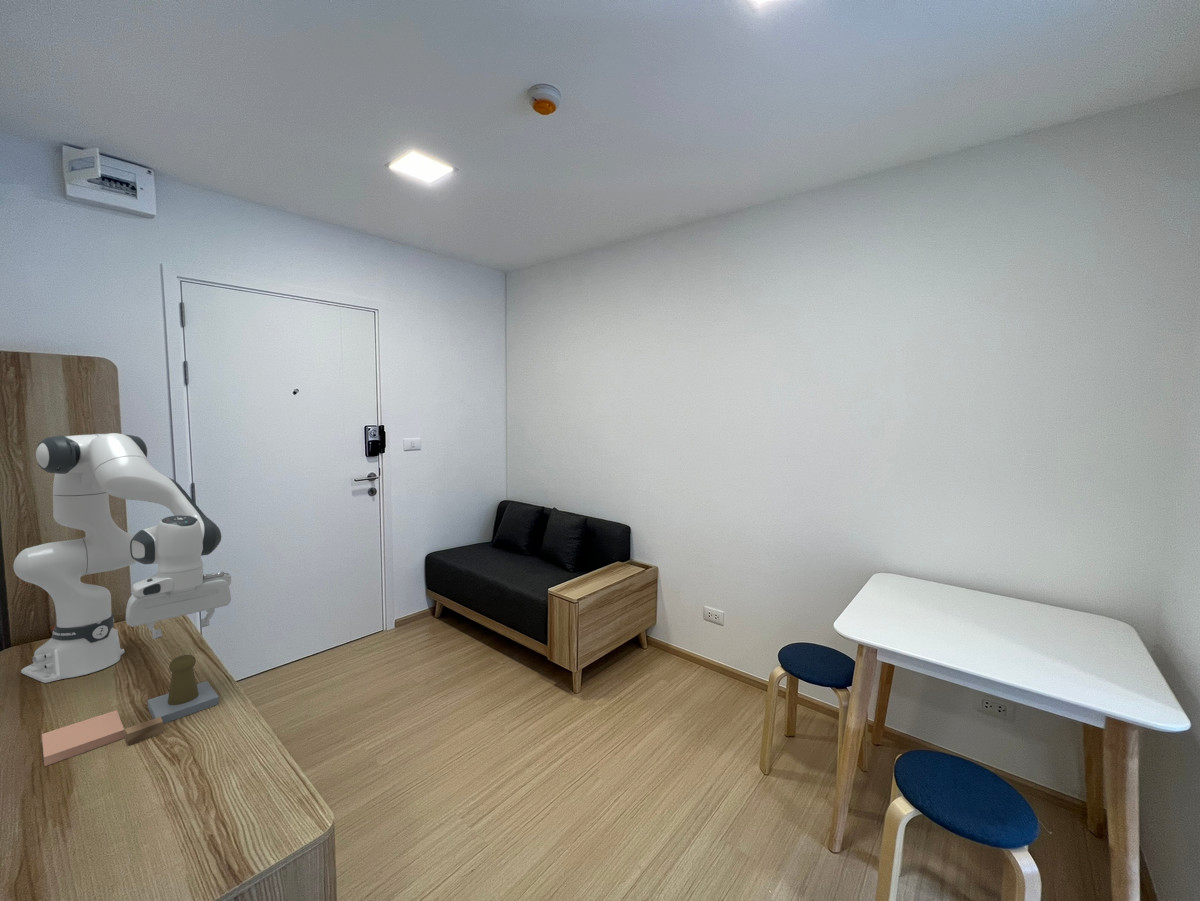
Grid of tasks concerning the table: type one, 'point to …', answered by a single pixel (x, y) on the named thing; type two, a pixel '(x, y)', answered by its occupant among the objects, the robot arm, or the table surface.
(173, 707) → the steel tile
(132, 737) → the walnut brick
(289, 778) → the table surface
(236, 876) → the table surface
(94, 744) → the terracotta tile
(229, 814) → the table surface
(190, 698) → the olive rounded tall piece
